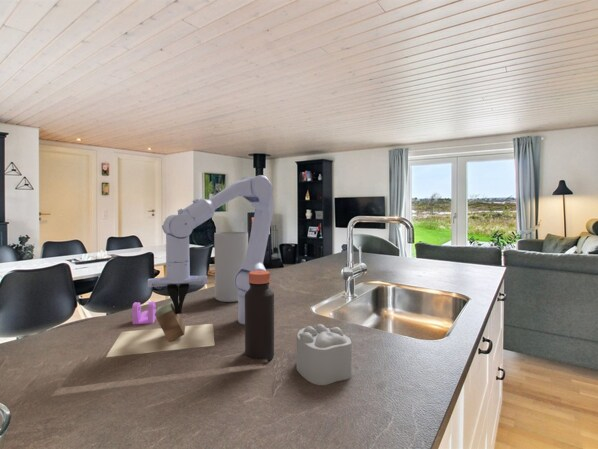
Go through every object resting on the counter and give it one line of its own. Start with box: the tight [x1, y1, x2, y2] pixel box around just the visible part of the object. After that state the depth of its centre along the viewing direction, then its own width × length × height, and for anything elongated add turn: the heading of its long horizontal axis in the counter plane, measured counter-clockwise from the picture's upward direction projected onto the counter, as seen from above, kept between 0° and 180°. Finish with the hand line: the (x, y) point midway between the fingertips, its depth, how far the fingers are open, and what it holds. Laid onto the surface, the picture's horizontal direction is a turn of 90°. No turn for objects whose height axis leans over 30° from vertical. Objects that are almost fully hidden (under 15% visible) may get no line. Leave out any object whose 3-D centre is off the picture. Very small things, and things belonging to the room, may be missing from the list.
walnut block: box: [155, 300, 186, 342], centre depth 88 cm, size 4×6×8 cm, turn 15°
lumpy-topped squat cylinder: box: [296, 323, 353, 386], centre depth 74 cm, size 10×13×9 cm
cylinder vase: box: [213, 231, 249, 303], centre depth 129 cm, size 12×12×25 cm
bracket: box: [131, 301, 157, 325], centre depth 105 cm, size 13×6×7 cm, turn 11°
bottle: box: [244, 270, 275, 362], centre depth 79 cm, size 7×7×20 cm
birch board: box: [105, 323, 216, 358], centre depth 88 cm, size 24×16×1 cm, turn 106°
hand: (178, 312), depth 88 cm, fingers closed
